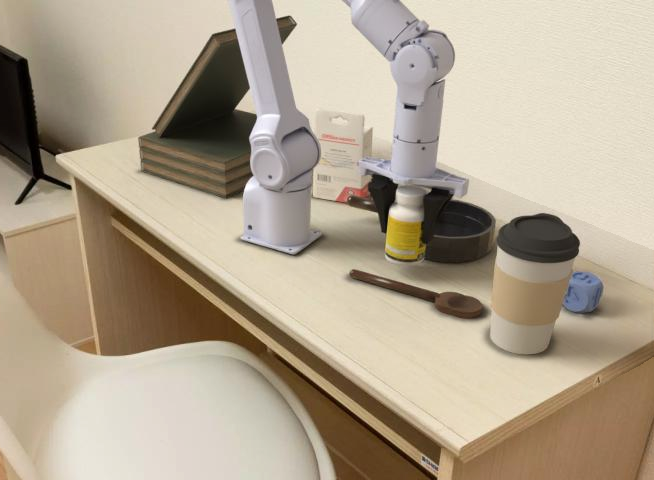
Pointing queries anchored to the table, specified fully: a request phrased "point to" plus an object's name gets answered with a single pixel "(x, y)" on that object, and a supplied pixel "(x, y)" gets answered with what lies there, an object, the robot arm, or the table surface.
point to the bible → (207, 122)
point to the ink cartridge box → (341, 155)
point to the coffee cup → (530, 281)
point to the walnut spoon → (428, 295)
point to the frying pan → (461, 233)
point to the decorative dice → (583, 292)
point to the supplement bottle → (406, 227)
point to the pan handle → (361, 203)
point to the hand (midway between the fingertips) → (406, 235)
